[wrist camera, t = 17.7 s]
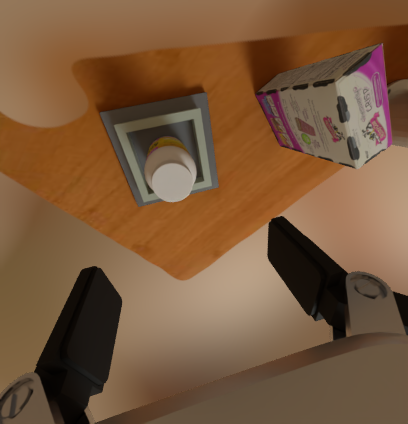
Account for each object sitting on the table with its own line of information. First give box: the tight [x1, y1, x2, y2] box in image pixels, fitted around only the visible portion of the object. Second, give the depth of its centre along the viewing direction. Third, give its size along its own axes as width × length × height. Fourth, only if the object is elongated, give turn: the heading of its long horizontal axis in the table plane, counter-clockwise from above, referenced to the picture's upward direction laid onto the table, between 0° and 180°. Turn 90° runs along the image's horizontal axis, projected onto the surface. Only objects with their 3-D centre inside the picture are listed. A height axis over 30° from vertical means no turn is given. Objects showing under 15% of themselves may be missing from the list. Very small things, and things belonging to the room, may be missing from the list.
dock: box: [100, 92, 219, 207], centre depth 30 cm, size 16×16×4 cm
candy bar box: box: [255, 43, 393, 169], centre depth 25 cm, size 11×5×16 cm, turn 38°
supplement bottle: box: [144, 136, 197, 202], centre depth 26 cm, size 7×7×13 cm
